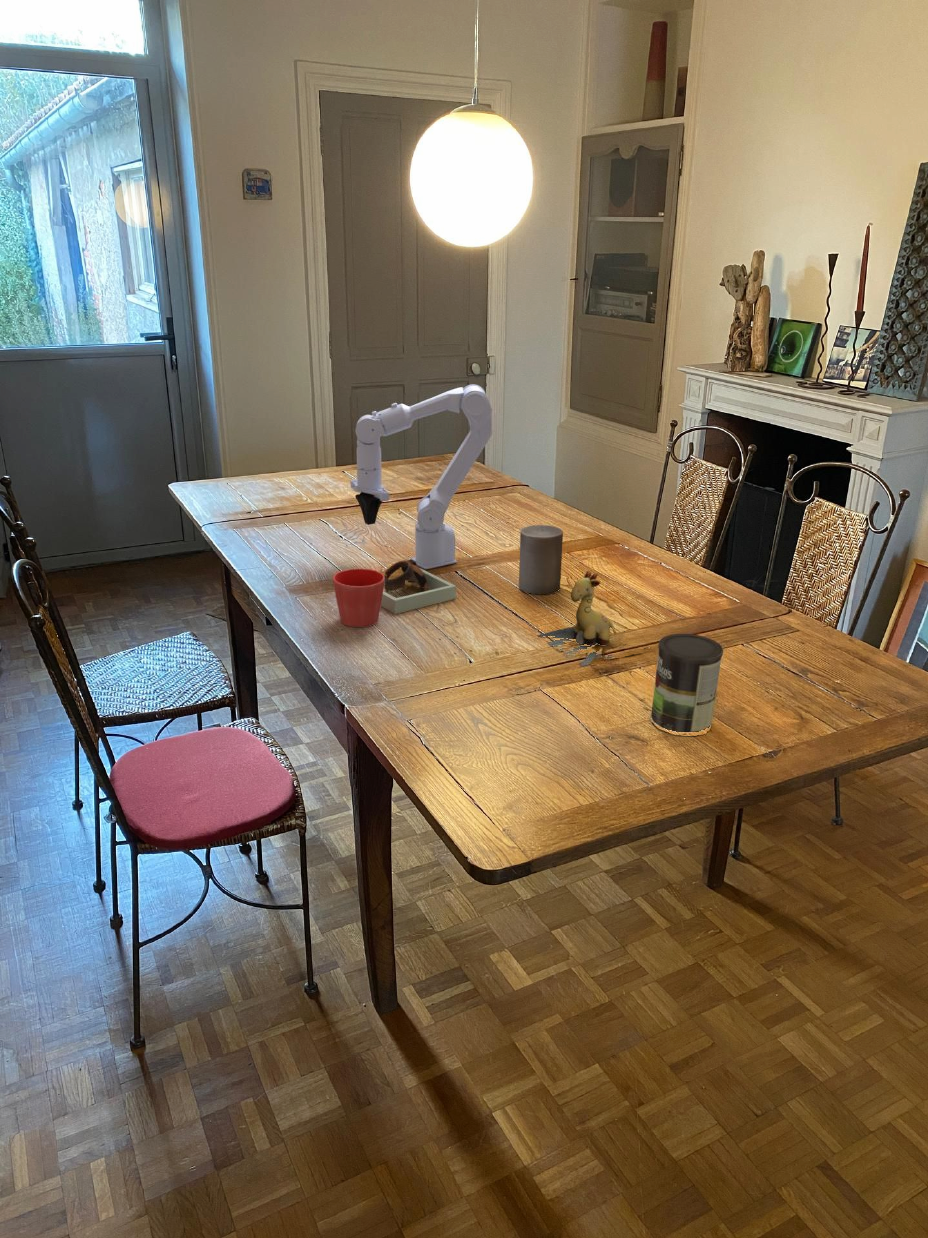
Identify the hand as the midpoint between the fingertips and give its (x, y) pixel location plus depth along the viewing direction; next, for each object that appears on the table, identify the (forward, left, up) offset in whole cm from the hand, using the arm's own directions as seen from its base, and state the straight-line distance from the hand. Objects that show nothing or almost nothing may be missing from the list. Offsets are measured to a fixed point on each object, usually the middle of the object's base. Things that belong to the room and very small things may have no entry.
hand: (370, 523), depth 226 cm
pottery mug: (+3, +21, -10) cm, 24 cm away
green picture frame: (+5, +23, -10) cm, 25 cm away
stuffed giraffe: (-12, +66, -10) cm, 68 cm away
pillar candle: (-23, +36, -10) cm, 44 cm away
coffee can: (-1, +98, -10) cm, 99 cm away
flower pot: (+21, +30, -10) cm, 38 cm away
